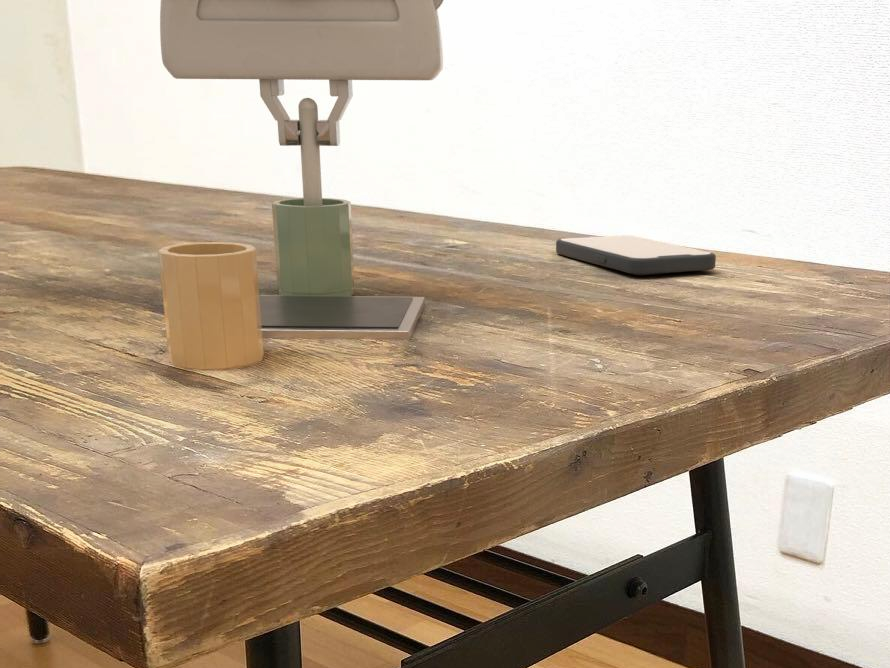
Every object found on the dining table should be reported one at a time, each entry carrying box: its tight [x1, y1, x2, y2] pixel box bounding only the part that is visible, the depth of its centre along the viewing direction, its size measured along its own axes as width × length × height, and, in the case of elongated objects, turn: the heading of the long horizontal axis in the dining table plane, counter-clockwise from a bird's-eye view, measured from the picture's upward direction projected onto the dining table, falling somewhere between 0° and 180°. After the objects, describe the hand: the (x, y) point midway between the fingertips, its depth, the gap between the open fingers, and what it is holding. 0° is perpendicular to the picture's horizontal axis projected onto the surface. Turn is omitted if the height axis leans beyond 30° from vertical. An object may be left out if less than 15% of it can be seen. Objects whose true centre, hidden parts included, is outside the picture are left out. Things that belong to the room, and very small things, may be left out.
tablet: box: [161, 294, 426, 341], centre depth 85 cm, size 16×12×1 cm
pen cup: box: [271, 197, 355, 296], centre depth 95 cm, size 6×6×7 cm
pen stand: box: [157, 241, 265, 371], centre depth 73 cm, size 5×6×7 cm
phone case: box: [555, 234, 717, 277], centre depth 112 cm, size 9×2×16 cm
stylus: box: [297, 97, 323, 206], centre depth 94 cm, size 1×1×14 cm
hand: (310, 145), depth 93 cm, fingers closed on stylus
